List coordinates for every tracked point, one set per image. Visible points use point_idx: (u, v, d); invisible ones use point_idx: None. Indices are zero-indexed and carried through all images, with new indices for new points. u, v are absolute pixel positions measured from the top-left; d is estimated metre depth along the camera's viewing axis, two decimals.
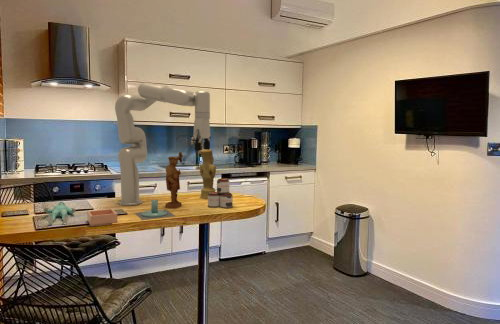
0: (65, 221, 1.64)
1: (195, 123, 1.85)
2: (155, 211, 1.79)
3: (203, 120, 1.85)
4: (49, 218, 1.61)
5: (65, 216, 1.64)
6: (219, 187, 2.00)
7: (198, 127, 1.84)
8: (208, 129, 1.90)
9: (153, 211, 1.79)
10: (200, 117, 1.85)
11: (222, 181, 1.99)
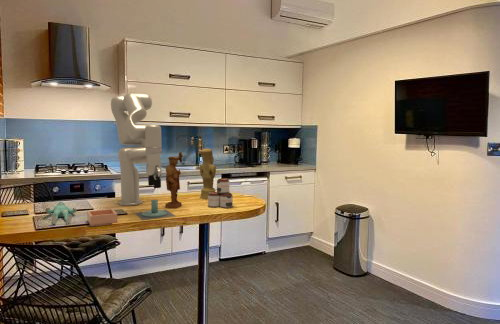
0: (69, 221, 1.65)
1: (153, 159, 1.73)
2: (155, 211, 1.79)
3: None
4: (53, 218, 1.61)
5: (69, 216, 1.64)
6: (219, 187, 2.00)
7: (157, 163, 1.74)
8: None
9: (153, 211, 1.79)
10: (157, 152, 1.75)
11: (222, 181, 1.99)
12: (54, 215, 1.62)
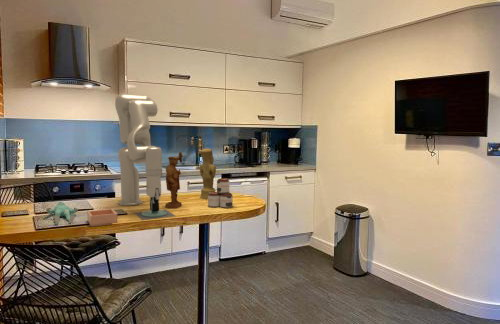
0: (71, 220, 1.65)
1: (153, 182, 1.74)
2: (155, 211, 1.79)
3: None
4: (56, 218, 1.62)
5: (71, 215, 1.65)
6: (219, 187, 2.00)
7: (157, 185, 1.75)
8: None
9: None
10: (157, 175, 1.76)
11: (222, 181, 1.99)
12: (57, 215, 1.62)
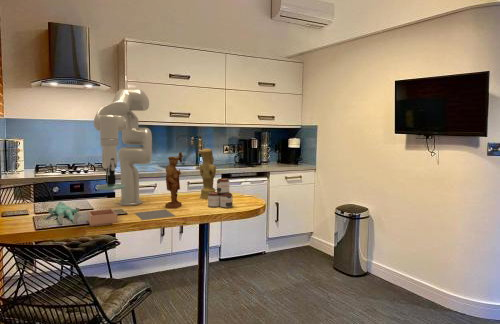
0: (75, 220, 1.66)
1: (108, 151, 1.62)
2: (111, 184, 1.67)
3: None
4: (60, 217, 1.62)
5: (75, 215, 1.66)
6: (219, 187, 2.00)
7: (113, 156, 1.63)
8: None
9: (109, 184, 1.67)
10: (113, 144, 1.64)
11: (222, 181, 1.99)
12: (61, 214, 1.62)
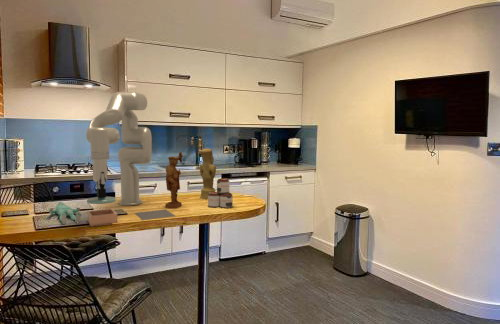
0: (78, 220, 1.67)
1: (98, 165, 1.61)
2: None
3: (106, 160, 1.64)
4: (63, 217, 1.63)
5: (78, 215, 1.66)
6: (219, 187, 2.00)
7: (103, 169, 1.61)
8: None
9: None
10: (103, 158, 1.62)
11: (222, 181, 1.99)
12: (64, 214, 1.63)
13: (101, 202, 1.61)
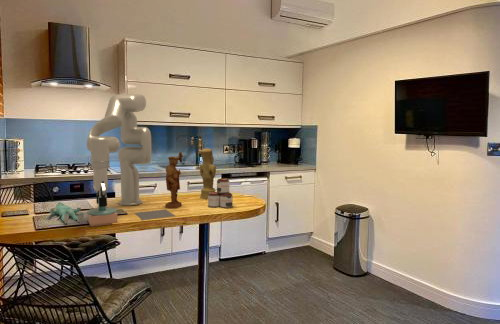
0: (80, 219, 1.67)
1: (99, 175, 1.61)
2: (102, 209, 1.66)
3: None
4: (65, 217, 1.63)
5: (80, 215, 1.67)
6: (219, 187, 2.00)
7: (103, 179, 1.62)
8: None
9: (100, 209, 1.66)
10: (103, 167, 1.63)
11: (222, 181, 1.99)
12: (67, 214, 1.63)
13: (102, 214, 1.62)
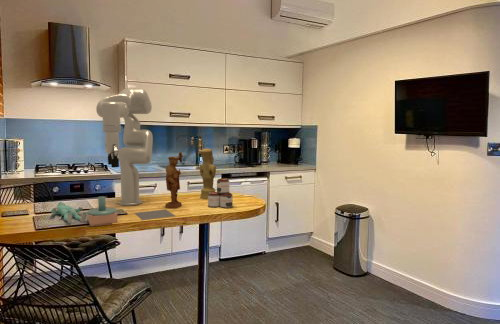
0: (83, 219, 1.68)
1: (110, 137, 1.68)
2: (102, 209, 1.66)
3: None
4: (69, 217, 1.64)
5: (84, 214, 1.68)
6: (219, 187, 2.00)
7: (115, 142, 1.69)
8: None
9: (100, 209, 1.66)
10: (115, 131, 1.69)
11: (222, 181, 1.99)
12: (70, 214, 1.64)
13: (102, 214, 1.62)
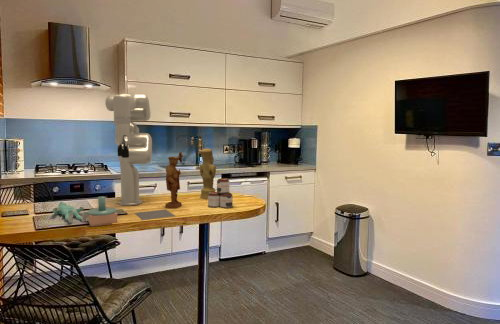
0: (84, 219, 1.68)
1: (121, 129, 1.75)
2: (102, 209, 1.66)
3: (128, 125, 1.78)
4: (70, 217, 1.64)
5: (85, 214, 1.68)
6: (219, 187, 2.00)
7: (125, 133, 1.76)
8: None
9: (100, 209, 1.66)
10: (125, 122, 1.76)
11: (222, 181, 1.99)
12: (71, 214, 1.64)
13: (102, 214, 1.62)
